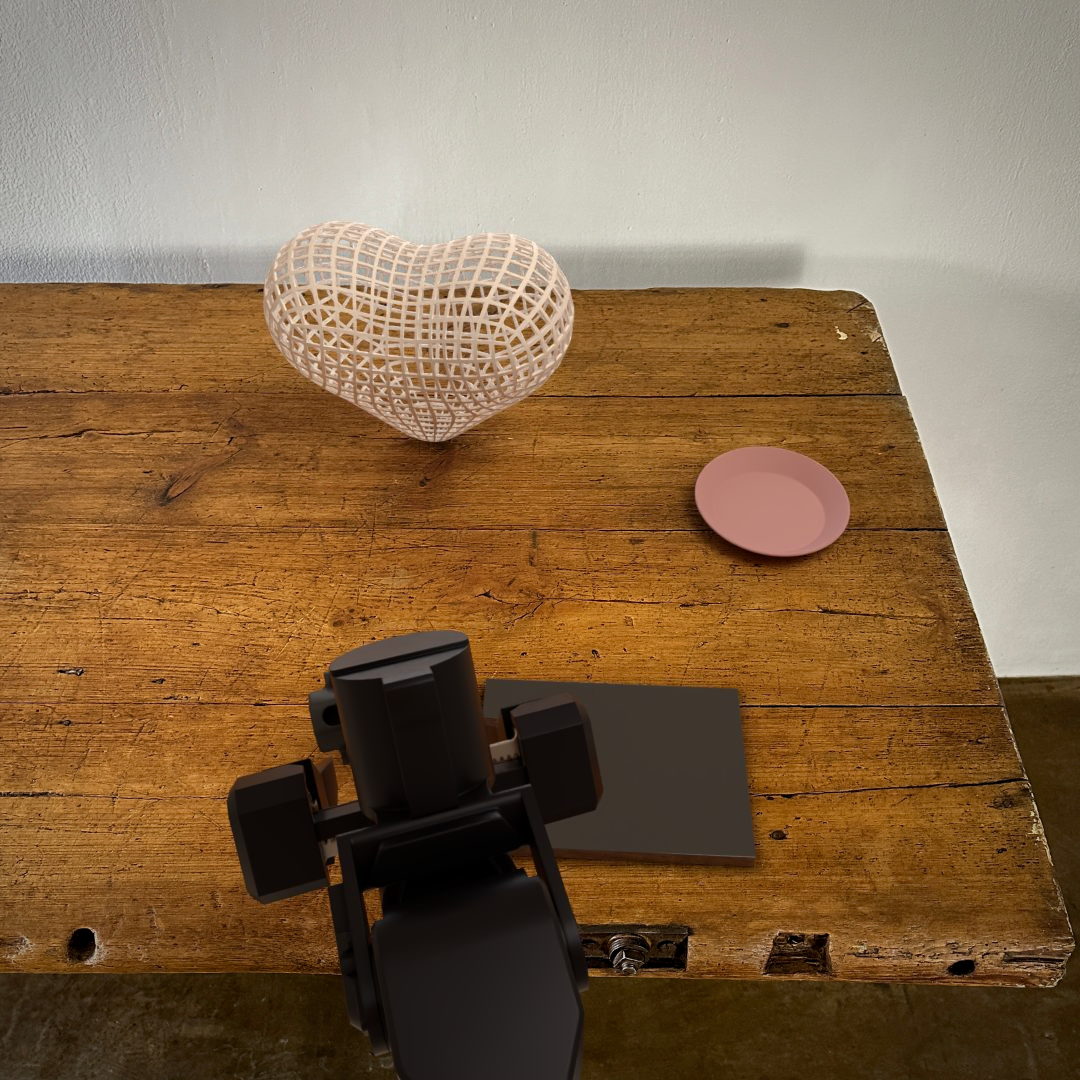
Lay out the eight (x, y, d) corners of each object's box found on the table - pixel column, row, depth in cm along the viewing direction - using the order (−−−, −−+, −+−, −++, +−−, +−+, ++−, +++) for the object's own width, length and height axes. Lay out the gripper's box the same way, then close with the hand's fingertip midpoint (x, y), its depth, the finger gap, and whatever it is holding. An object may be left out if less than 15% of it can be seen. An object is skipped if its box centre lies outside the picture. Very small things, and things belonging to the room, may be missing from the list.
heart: (275, 476, 95) (221, 278, 79) (321, 377, 105) (281, 184, 89) (559, 505, 92) (564, 307, 76) (577, 401, 103) (585, 207, 86)
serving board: (752, 867, 68) (756, 857, 67) (470, 854, 69) (469, 844, 68) (735, 698, 78) (737, 688, 77) (486, 688, 78) (485, 678, 77)
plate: (842, 582, 86) (847, 568, 85) (682, 553, 88) (685, 538, 87) (847, 474, 95) (852, 459, 94) (702, 450, 98) (705, 435, 96)
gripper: (603, 632, 44) (529, 581, 59) (181, 737, 40) (217, 654, 56) (645, 858, 46) (562, 752, 61) (243, 978, 42) (262, 834, 57)
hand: (406, 744), depth 59 cm, fingers open, 9 cm apart
